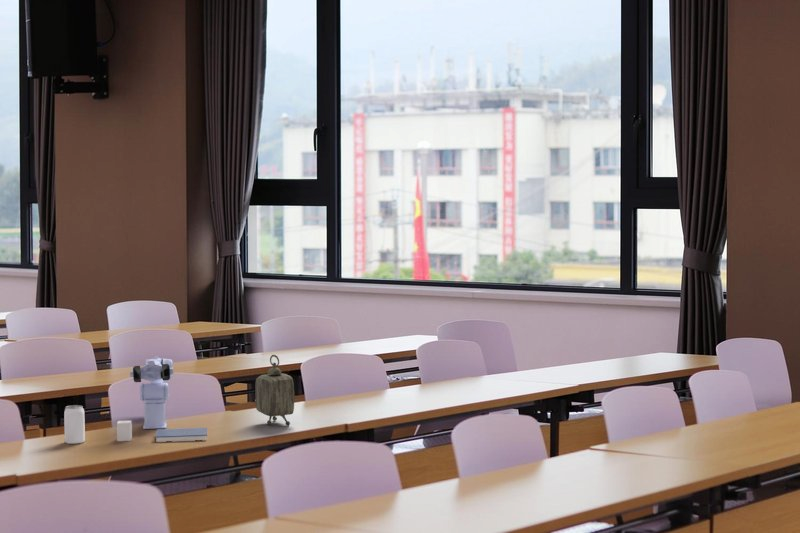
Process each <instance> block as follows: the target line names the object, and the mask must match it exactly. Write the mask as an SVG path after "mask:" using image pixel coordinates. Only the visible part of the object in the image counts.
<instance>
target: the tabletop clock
mask: <svg viewBox="0 0 800 533" xmlns="http://www.w3.org/2000/svg"><path fill="white" fill-rule="evenodd" d="M273 357H274V358H276V360H277V363H276V362H272V358H273ZM269 362H270V365H271V366H272V367H270V368H269V369H268V371H267V374H261V375H259V376H257V378H255V384H254V386H255V388H254V392H255V393H254V397H255V399H254V400H255V408H256V411H257V412H259V413H261V414H263V415H265V416H267V417H268V418H269V419H268V420H267V422H266V424H267V425H268V426H271V425H272V424H273V423H272V421H274V422H275V421H277V420H278V418H277V417H279V416H280V417H281V418H283V420H284V422H285V423H284V424H285V426H288V427H289V426H290V425H291V423H290V421H288V420H287V418H286V416H288V415H290V416H291V415H293V414H294V410H295V383H294V379H293V377H292V376H291V375H288V374H287V373H282V370H281V369H280V368H279V366H280V359H279V356H277V355H276V354H271V356H270V358H269Z"/></svg>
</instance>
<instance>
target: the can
mask: <svg viewBox="0 0 800 533" xmlns="http://www.w3.org/2000/svg"><path fill="white" fill-rule="evenodd" d="M83 407H84V406H83V405H80V404H79V405H78V404H73V405H67V406H65V409H64V414H63V416H64V419H63V421H64V422H63V424H64V427H63V428H64V443H65V444H67V445H79V444H84V443H85V441H86V438H85V437H86V429H85V428H86V427H85V426H86V425H85V424H86V423H85V422H86V421H85V409H84V408H83Z"/></svg>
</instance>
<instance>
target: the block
mask: <svg viewBox="0 0 800 533" xmlns="http://www.w3.org/2000/svg"><path fill="white" fill-rule="evenodd" d="M132 426H133V424H132V420H117V422H116V441H117V442H128V441H129V442H131V441H132V439H133V427H132Z"/></svg>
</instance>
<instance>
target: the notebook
mask: <svg viewBox="0 0 800 533" xmlns="http://www.w3.org/2000/svg"><path fill="white" fill-rule="evenodd" d="M207 437H208V427H188V428H187V427H185V428H184V427H183V428H182V427H181V428H156V432H155V440H156V441H155V442H156V443H163V442H164V443H165V442H166V441H172V442H196V441H195V440H202V441H207Z"/></svg>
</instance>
